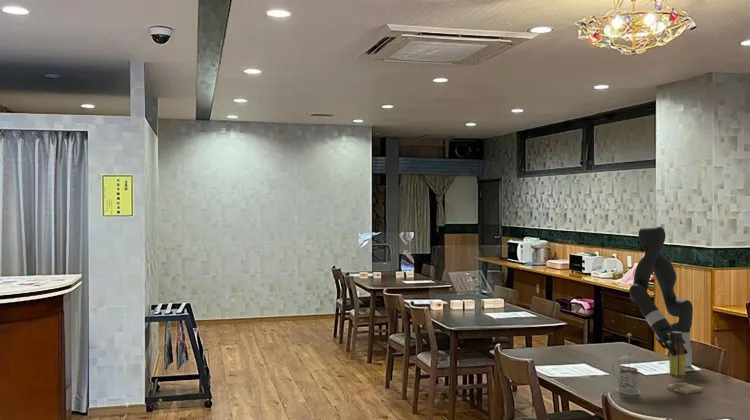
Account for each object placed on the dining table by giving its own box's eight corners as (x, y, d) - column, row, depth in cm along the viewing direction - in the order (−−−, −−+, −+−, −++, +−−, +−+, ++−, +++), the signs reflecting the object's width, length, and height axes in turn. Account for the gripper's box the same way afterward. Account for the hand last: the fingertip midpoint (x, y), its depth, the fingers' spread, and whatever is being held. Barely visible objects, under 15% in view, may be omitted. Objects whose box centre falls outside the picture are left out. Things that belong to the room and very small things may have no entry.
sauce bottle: (684, 376, 284) (685, 331, 283) (686, 379, 278) (687, 334, 278) (668, 374, 286) (669, 330, 286) (669, 378, 280) (670, 332, 280)
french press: (638, 396, 269) (639, 336, 269) (609, 391, 275) (610, 333, 275) (642, 390, 278) (643, 332, 277) (614, 386, 284) (615, 329, 283)
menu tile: (667, 384, 280) (686, 390, 272) (683, 382, 285) (701, 387, 277) (667, 389, 280) (686, 395, 272) (682, 386, 285) (701, 392, 277)
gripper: (652, 319, 285) (675, 351, 274) (674, 316, 291) (697, 348, 281) (642, 328, 289) (664, 361, 279) (663, 326, 296) (686, 357, 286)
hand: (680, 354), depth 280 cm, fingers closed on sauce bottle, 6 cm apart
